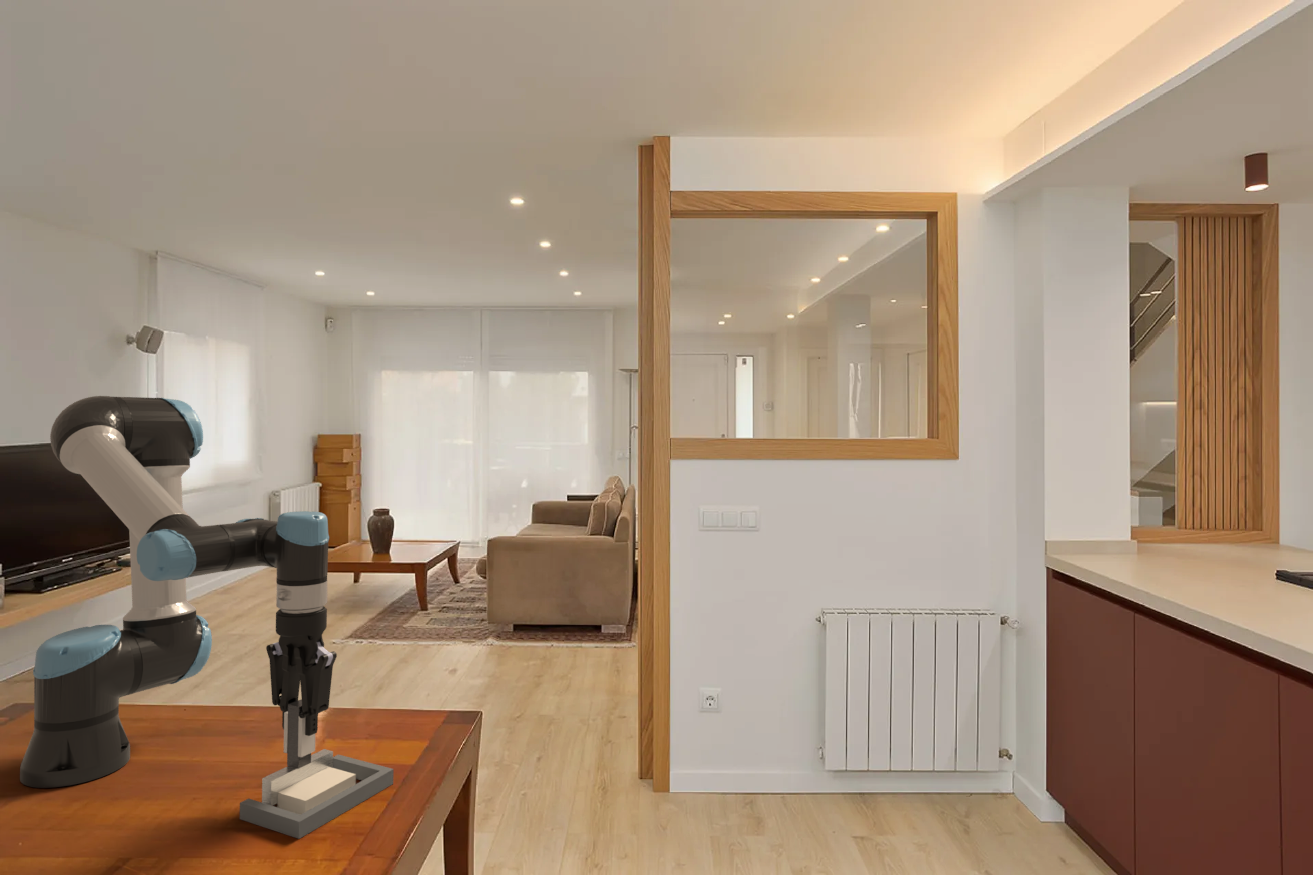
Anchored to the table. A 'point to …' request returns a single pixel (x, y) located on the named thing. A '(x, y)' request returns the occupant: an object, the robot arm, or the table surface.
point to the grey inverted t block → (294, 761)
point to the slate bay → (301, 825)
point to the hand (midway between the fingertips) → (299, 751)
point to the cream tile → (315, 790)
